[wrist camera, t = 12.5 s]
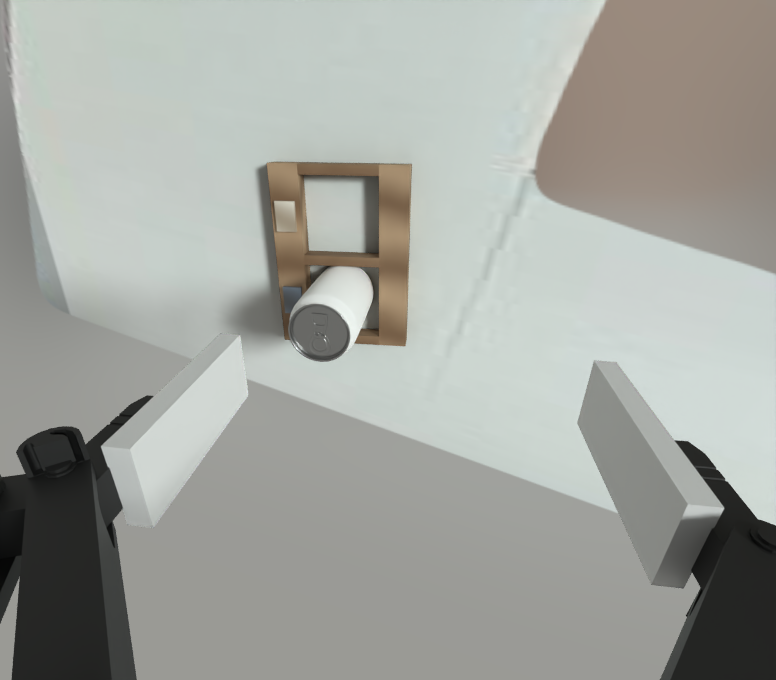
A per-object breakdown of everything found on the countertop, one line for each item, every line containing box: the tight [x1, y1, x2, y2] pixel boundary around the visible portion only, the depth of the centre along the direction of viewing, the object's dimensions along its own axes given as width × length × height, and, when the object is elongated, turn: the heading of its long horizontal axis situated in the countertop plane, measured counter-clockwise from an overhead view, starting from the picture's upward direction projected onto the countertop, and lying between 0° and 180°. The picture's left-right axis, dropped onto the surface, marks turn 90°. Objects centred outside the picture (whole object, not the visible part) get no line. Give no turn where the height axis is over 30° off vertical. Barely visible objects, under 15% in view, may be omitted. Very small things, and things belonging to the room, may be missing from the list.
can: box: [288, 266, 374, 362], centre depth 44 cm, size 6×6×12 cm
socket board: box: [267, 162, 412, 346], centre depth 47 cm, size 19×14×2 cm
